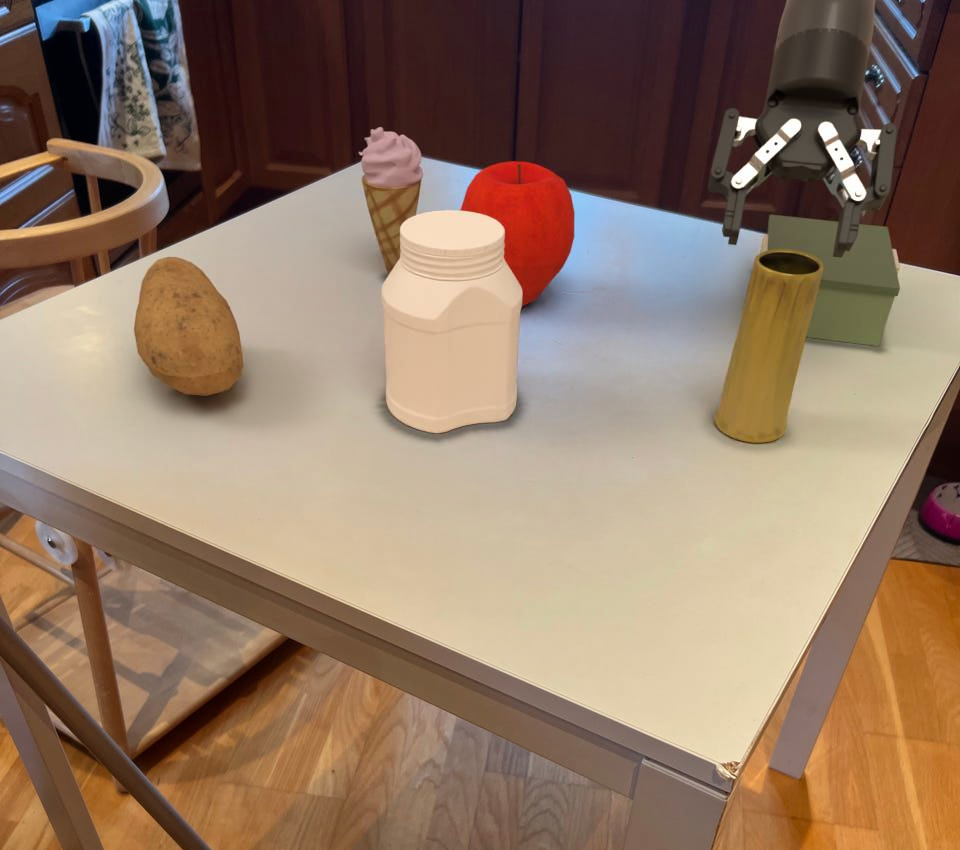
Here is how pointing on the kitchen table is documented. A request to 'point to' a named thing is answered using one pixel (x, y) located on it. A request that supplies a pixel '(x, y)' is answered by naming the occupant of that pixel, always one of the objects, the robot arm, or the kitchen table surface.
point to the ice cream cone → (390, 187)
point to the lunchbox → (843, 277)
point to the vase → (769, 345)
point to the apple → (526, 219)
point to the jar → (451, 323)
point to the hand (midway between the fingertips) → (786, 247)
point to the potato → (187, 329)
